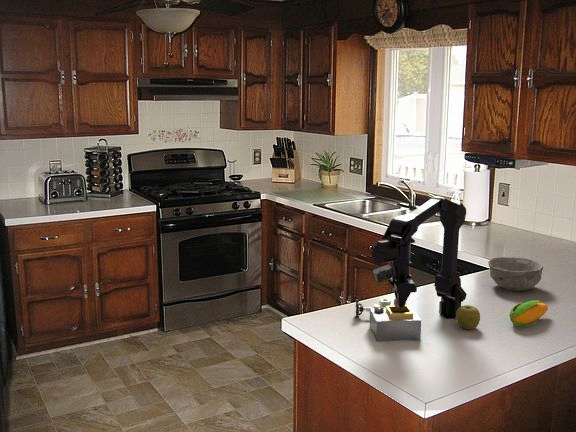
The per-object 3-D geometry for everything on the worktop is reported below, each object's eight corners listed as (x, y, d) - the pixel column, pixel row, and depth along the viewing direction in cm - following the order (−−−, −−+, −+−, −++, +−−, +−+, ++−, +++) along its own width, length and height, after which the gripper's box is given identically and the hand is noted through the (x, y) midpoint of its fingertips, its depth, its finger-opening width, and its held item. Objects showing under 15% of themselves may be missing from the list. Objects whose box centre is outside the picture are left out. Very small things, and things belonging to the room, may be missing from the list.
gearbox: (411, 326, 208) (411, 302, 206) (420, 340, 196) (421, 315, 194) (369, 327, 207) (369, 303, 205) (376, 341, 195) (376, 316, 194)
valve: (390, 315, 218) (355, 314, 219) (390, 297, 217) (355, 296, 218) (391, 321, 212) (356, 321, 213) (391, 303, 211) (356, 302, 212)
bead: (404, 306, 202) (404, 294, 201) (406, 310, 198) (407, 298, 197) (392, 306, 202) (392, 295, 201) (395, 310, 198) (395, 299, 197)
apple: (469, 322, 211) (470, 302, 209) (484, 330, 203) (486, 309, 202) (450, 325, 208) (451, 304, 206) (465, 333, 201) (466, 312, 199)
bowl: (475, 284, 251) (476, 260, 249) (514, 277, 260) (515, 254, 258) (513, 299, 233) (515, 273, 231) (554, 291, 241) (555, 266, 239)
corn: (504, 304, 205) (536, 291, 217) (501, 325, 207) (534, 311, 219) (525, 311, 200) (557, 298, 212) (522, 333, 201) (554, 319, 214)
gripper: (370, 251, 205) (369, 296, 208) (381, 266, 187) (380, 316, 190) (403, 250, 206) (402, 295, 209) (418, 265, 188) (416, 315, 191)
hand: (399, 305), depth 200 cm, fingers closed on bead, 4 cm apart
